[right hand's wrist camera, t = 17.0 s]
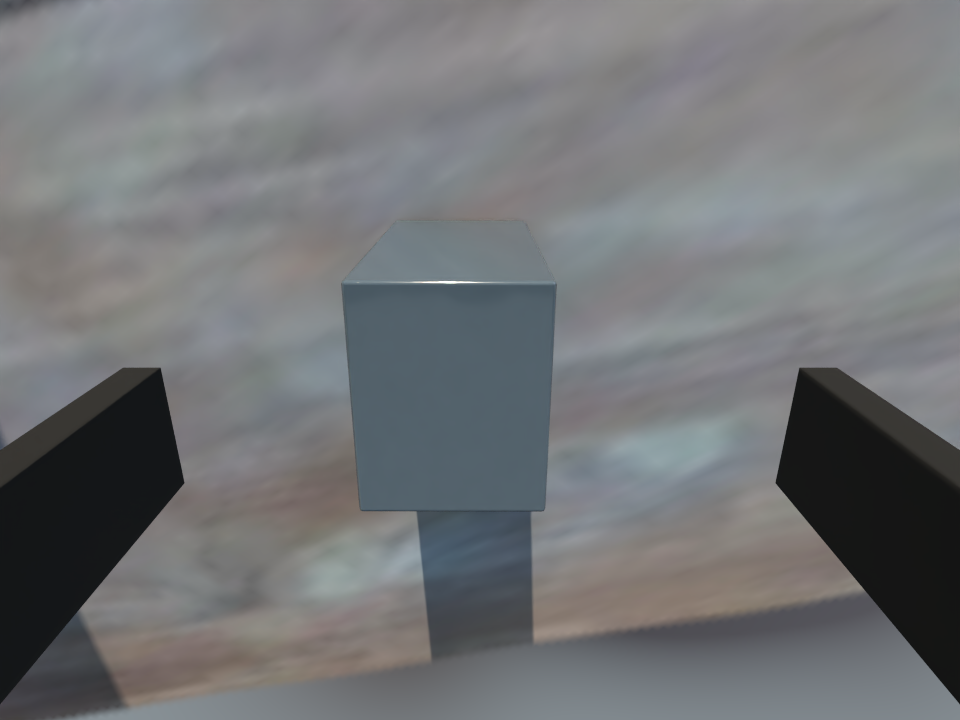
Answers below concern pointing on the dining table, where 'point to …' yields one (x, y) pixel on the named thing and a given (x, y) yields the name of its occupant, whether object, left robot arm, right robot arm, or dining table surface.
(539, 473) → the brick
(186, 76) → the dining table surface
